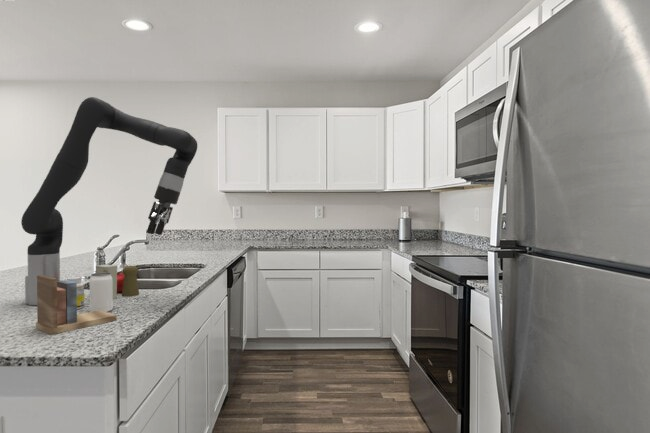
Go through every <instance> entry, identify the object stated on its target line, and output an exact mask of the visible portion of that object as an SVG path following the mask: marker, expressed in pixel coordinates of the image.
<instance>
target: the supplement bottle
mask: <svg viewBox="0 0 650 433" xmlns="http://www.w3.org/2000/svg"><path fill="white" fill-rule="evenodd" d="M66 280H68V281H72V282H75V283H77V310H80V309H83V308H84V307H85V283H83V282H82V277H81V276H71V277H66Z"/></svg>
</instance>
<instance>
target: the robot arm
mask: <svg viewBox="0 0 650 433" xmlns="http://www.w3.org/2000/svg"><path fill="white" fill-rule="evenodd" d="M97 128H99V129H106V130H107V129H108V130H114V131H118V132H122V133H126V134H129V135H132V136H134V137H136V138H138V139H140V140H144V141H146V142H149V143H151V144H155V145H158V146H165V147H168V148H172V149H174V150H175V152H174V154H173V156H171V157H169V158H168V159H167V161H166V164H165V167H164V168H163V169H164V170H163V172H162V175H161V177H160V179H159V182H158V184H157V187H156V191H155V192H154V193H155V194H154V196H153V197H154V199H155V200H158V201H153V204H152V207H151V210H150V212H149V214H148V220H149V223H148V227H147V230H146V233H147V234H151V235H154V234H156V235H158V236H159V235H160V236H161V235H162V234H163V233H164V229H165V227H166V225H167V224H169V221H170V218H171V214H172V212H173V210H174V208H173V207H172V206H171V204H172V205H177V204H178V201H179V199H180V198H179V197H180V195H181V191H182V189H183V186H184V182H185V181H184V180H185V178H186V175H187V173H188V169H189V166H190V164H192V161H193V159H194V157H195V156H196V154H197V150H198V141H197V140H196V138H194V137H193V135H191V133H189V132H188V131H186V130H184V129H180V128H178V127H177V128H176V127H171V126H167V125H164V124H162V123H160V122H159V123H158V122H155V121H152V120H150V119H145V118H141V117H136V116H133V115H130V114H128V113H125V112H123V111H121V110H120V109H117V108H116V107H114V106H113V105H111V104H110V103H109V102H106V101H104V100H102V99H101V98H98V97H94V96H90V97H88V98H86V99H83V101H82V102H81V103H80V104H79V107H78V109H77V111H76V113H75V116H74V119H73V122H72V124H71V128H70V129H69V132H68V133H67V136H66V138H65V139H64V141H63V144H62V146H61V148H60V150H59V151H58V152H57V155H56V157H55V159H54V160H53V162H52V164H51V167H50V169H49V171H48V173H47V175H46V177H45V179H44V180H43V182H42V184H41V186H40V188H39V189H38V192H37V193H36V194H35V196H34V198H33V199H32V200H31V202H30V203H29V205H28V206H27V207H26V209H25V211H24V213H23V214H22V217H21V227H22V230H23V231H24V232H26V233H27V234H29V235H35V239H34V240H33V242H32V243H30V244H29V245H28V246H27V250H26V251H27V275H26V276H25V277H24V283H25V284H24V288H25V289H24V290H25V291H24V292H25V293H24V295H25V300H24V302H25V304H26V305H29V306H37V276H38V275H44V276H48V277H51V278H55V279H57V281H61V260H60V259H61V253H60V252H61V250H60V248H61V246H62V244H63V233H64V232H63V231H64V220H63V217H62V213H61V212H60V211H59V210H58V209H56V207H57V204H58V203H59V202H60V200H61V199H62V198H63V197H65V195H66V194H68V192H70V191H71V190H72V189H73V188H74V187H75V186H76V185H77V184H78V183H79V182H80V180H81V179H82V177H83V175H84V173H85V171H86V169H87V166H88V163H89V159H90V158H89V154H90V153H89V152H90V151H89V150H90V142H91V140H92V137H93V136H94V133H95V132H96V130H97Z"/></svg>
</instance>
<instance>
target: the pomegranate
mask: <svg viewBox="0 0 650 433" xmlns="http://www.w3.org/2000/svg"><path fill="white" fill-rule="evenodd" d="M123 282H124V274H123V271H120V272H117V293H118V294H119V293H122V290H123Z"/></svg>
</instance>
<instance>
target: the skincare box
mask: <svg viewBox="0 0 650 433" xmlns="http://www.w3.org/2000/svg"><path fill="white" fill-rule="evenodd" d="M95 273H111V276H112V284H113V299H117V297H118V295H117V273H118V265H115V264H101V265H100V264H99V265H98V264H97V265H95Z"/></svg>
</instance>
